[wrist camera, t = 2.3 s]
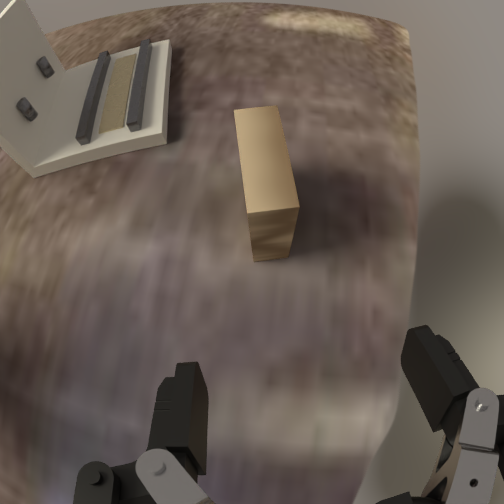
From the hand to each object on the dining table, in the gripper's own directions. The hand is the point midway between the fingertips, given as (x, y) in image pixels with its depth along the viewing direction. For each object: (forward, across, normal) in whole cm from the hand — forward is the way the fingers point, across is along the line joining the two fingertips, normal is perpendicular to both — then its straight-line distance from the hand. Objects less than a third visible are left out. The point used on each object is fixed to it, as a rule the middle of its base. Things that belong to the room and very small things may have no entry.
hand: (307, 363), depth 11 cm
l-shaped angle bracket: (+32, +18, -12) cm, 39 cm away
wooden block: (+19, 0, +2) cm, 19 cm away
